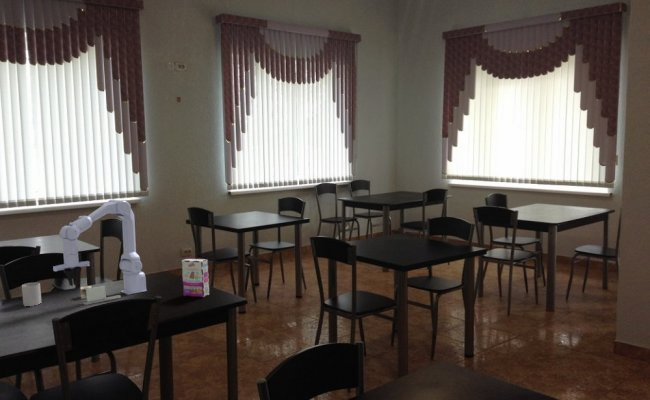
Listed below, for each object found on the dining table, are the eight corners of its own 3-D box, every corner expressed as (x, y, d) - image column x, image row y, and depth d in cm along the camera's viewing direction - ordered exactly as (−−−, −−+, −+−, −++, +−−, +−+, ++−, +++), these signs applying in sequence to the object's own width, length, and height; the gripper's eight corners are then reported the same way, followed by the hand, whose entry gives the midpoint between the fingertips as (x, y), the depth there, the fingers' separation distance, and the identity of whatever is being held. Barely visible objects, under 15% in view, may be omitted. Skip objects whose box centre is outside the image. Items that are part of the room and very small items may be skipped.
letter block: (91, 295, 276) (91, 285, 276) (92, 297, 272) (91, 288, 272) (81, 296, 275) (80, 286, 274) (81, 299, 270) (80, 289, 270)
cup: (24, 307, 258) (22, 287, 257) (21, 302, 267) (19, 283, 266) (42, 304, 262) (41, 284, 261) (39, 300, 270) (37, 280, 270)
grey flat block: (104, 297, 267) (104, 285, 266) (105, 298, 266) (105, 286, 265) (86, 301, 262) (85, 289, 261) (87, 302, 261) (86, 289, 260)
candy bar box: (210, 294, 271) (208, 259, 269) (203, 297, 266) (202, 261, 264) (189, 293, 275) (187, 257, 273) (182, 295, 270) (180, 260, 269)
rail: (118, 296, 272) (118, 295, 272) (121, 297, 270) (121, 296, 270) (83, 303, 261) (83, 302, 261) (85, 305, 260) (85, 303, 260)
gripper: (84, 250, 263) (86, 280, 265) (49, 255, 254) (52, 286, 255) (90, 252, 258) (92, 283, 259) (55, 257, 248) (57, 289, 250)
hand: (73, 285), depth 257 cm, fingers closed
